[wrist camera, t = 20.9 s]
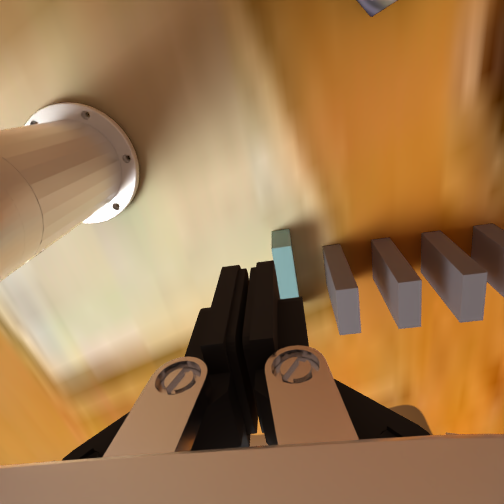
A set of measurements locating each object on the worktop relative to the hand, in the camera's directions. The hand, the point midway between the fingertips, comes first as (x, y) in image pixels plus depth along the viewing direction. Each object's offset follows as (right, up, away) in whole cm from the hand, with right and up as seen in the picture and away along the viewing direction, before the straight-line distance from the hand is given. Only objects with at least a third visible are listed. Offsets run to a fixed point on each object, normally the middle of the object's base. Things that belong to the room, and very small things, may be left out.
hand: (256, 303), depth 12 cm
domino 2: (+9, 0, +31) cm, 33 cm away
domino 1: (+3, +3, +28) cm, 28 cm away
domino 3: (+15, +1, +31) cm, 34 cm away
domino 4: (+20, +2, +30) cm, 36 cm away
